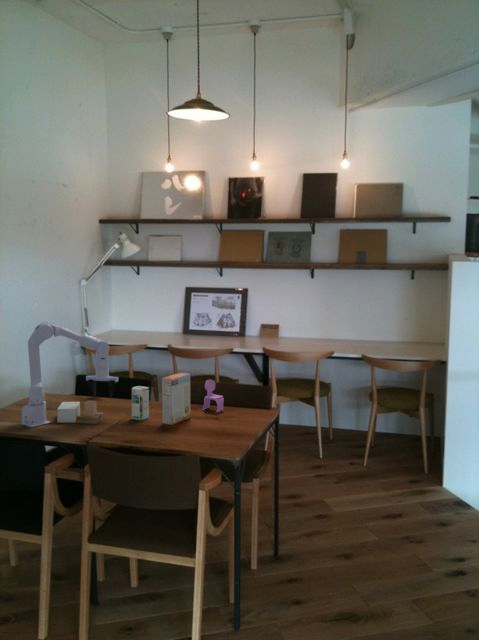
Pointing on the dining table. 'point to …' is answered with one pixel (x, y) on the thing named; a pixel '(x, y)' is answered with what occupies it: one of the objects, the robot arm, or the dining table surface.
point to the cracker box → (175, 398)
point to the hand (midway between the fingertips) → (102, 396)
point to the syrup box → (140, 403)
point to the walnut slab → (90, 418)
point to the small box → (68, 412)
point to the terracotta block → (90, 408)
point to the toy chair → (212, 396)
